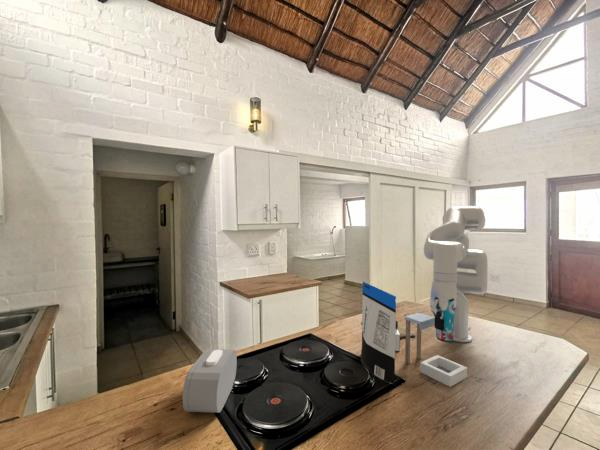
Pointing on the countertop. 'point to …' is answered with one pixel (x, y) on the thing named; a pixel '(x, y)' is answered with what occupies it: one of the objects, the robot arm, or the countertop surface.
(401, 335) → the dish towel
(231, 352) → the alarm clock
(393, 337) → the protein powder
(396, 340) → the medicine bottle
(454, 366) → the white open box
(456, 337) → the robot arm
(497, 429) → the countertop surface
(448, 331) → the beverage can
